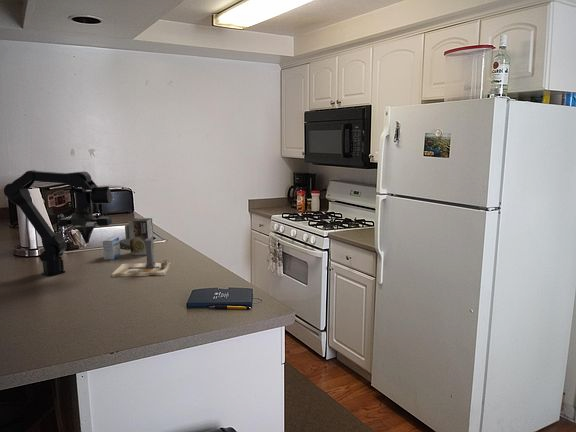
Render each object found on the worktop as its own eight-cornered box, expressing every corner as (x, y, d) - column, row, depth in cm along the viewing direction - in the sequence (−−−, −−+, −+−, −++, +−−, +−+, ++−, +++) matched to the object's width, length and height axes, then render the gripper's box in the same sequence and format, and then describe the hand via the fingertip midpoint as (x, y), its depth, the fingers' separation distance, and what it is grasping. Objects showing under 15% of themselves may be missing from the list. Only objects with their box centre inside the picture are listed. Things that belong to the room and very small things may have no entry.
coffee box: (154, 251, 216) (152, 218, 213) (149, 255, 209) (147, 220, 207) (136, 251, 217) (133, 217, 214) (130, 254, 210) (127, 220, 207)
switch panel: (112, 276, 177) (111, 267, 176) (122, 266, 191) (121, 258, 190) (164, 275, 178) (164, 266, 178) (171, 265, 192) (170, 257, 191)
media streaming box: (115, 245, 229) (114, 240, 229) (142, 241, 240) (141, 235, 239) (129, 250, 219) (129, 244, 219) (156, 245, 230) (156, 239, 229)
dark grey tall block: (145, 267, 182) (143, 240, 180) (148, 265, 186) (146, 238, 184) (153, 267, 183) (151, 240, 181) (155, 264, 187) (153, 238, 185)
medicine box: (113, 259, 202) (112, 240, 200) (103, 259, 202) (102, 240, 201) (120, 255, 210) (119, 236, 208) (111, 255, 210) (109, 236, 208)
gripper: (49, 207, 170) (53, 248, 173) (101, 206, 171) (104, 247, 174) (62, 203, 181) (65, 242, 184) (110, 202, 182) (113, 240, 185)
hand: (87, 243), depth 181 cm, fingers closed
